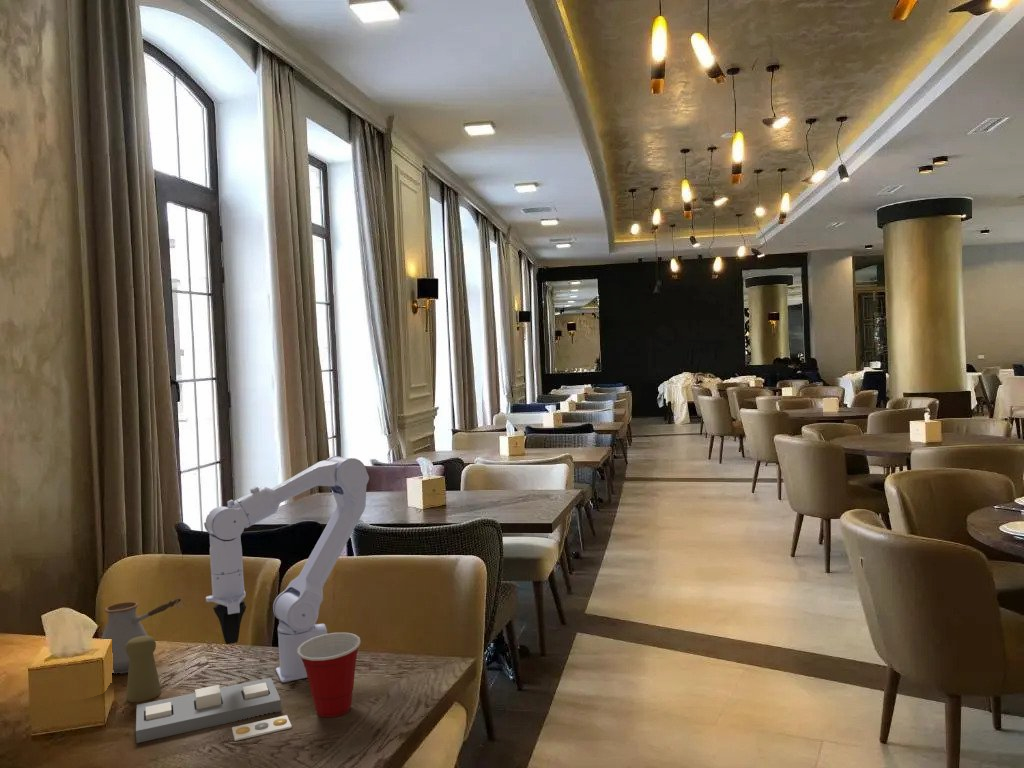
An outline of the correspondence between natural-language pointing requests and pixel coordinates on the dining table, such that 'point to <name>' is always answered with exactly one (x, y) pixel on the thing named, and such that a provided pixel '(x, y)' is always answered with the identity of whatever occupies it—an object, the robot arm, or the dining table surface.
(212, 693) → the button middle
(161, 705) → the button
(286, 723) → the card
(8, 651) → the dining table surface
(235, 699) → the button board
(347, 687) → the plastic cup
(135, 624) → the coffee pot
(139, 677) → the olive pepper shaker
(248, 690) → the button
